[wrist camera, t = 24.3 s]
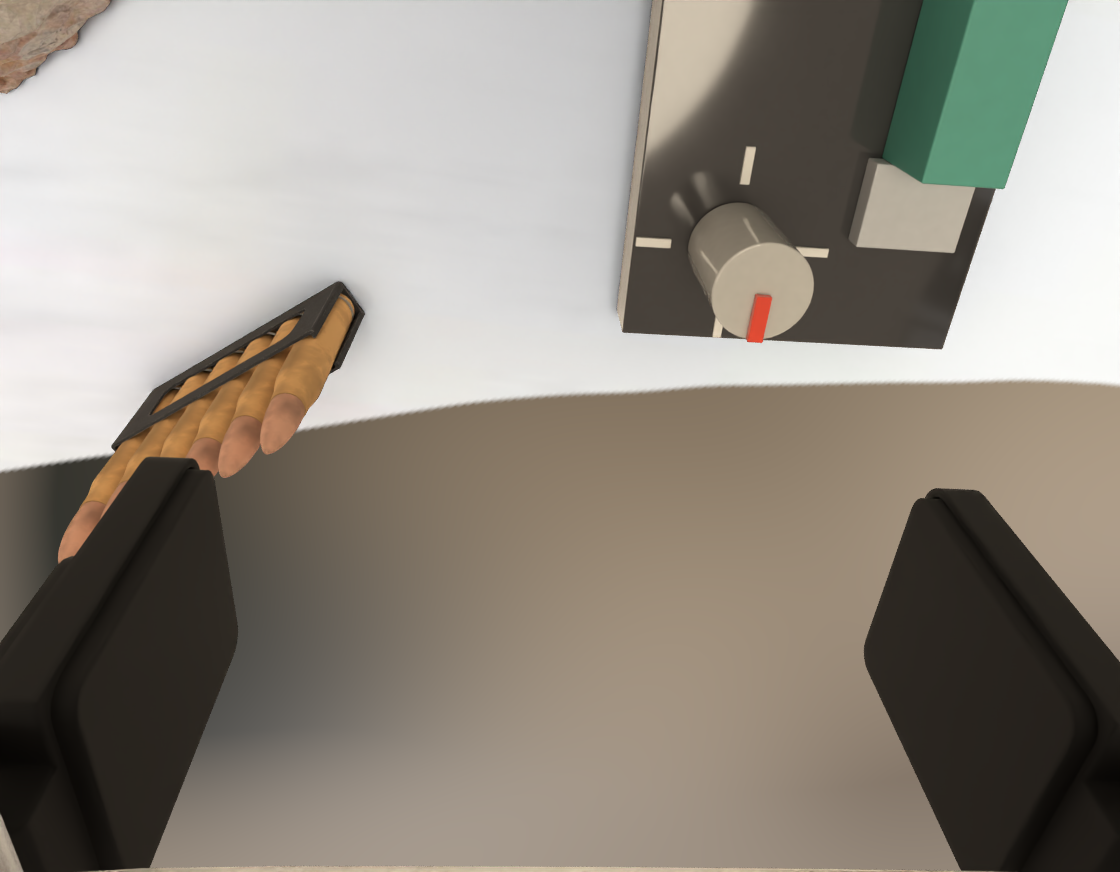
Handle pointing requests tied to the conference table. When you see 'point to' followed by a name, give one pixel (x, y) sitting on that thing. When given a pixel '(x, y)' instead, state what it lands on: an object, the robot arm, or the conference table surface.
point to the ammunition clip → (230, 401)
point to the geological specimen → (38, 33)
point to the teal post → (955, 119)
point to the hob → (780, 165)
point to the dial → (749, 271)
